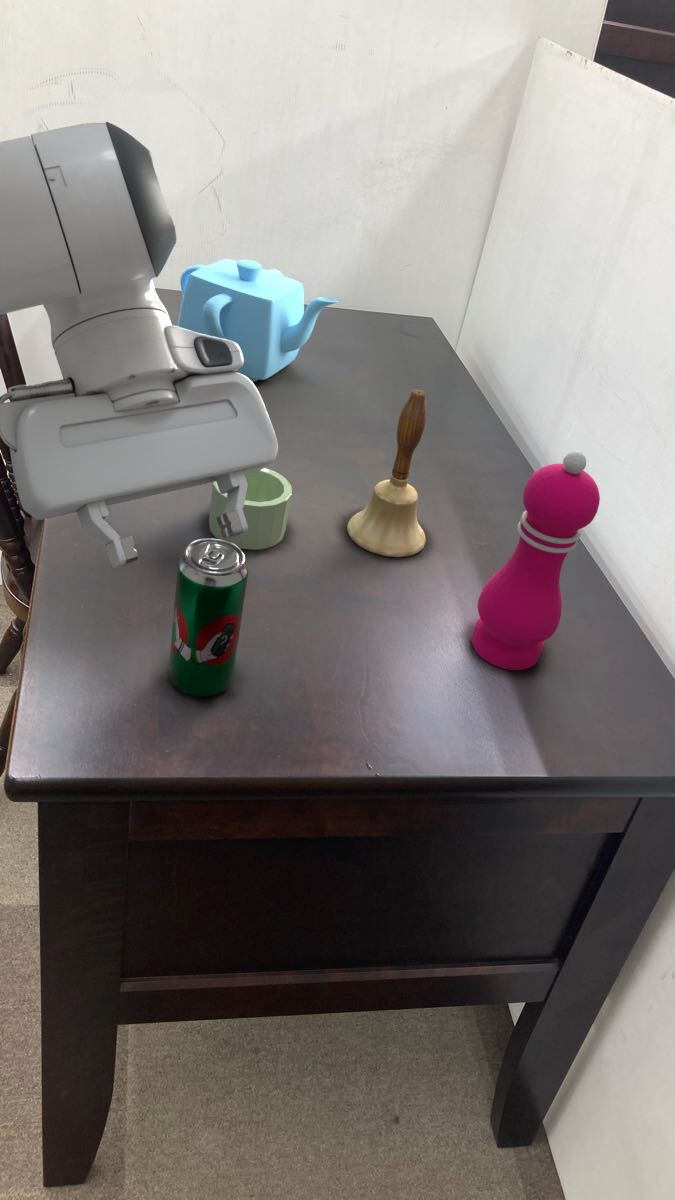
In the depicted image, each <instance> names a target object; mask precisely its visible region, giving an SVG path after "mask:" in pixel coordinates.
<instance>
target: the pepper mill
mask: <svg viewBox="0 0 675 1200" xmlns="http://www.w3.org/2000/svg"><path fill="white" fill-rule="evenodd" d="M586 466H587V459H586V456H585V455H584V453H582V452H580V451H577V450H575V451H570V452H567V454H566V455H565V456H564V457H563V459H562V463H551V464H547V465H544V466H541V467H540V468H538V469H537V470H535V471H534V472H533V473H532V475H531V476H530V477H529V478H528V479H527V481H526V484H525V486H524V489H523V491H522V503H523V506H524V509H525V510H524V511H523V513H522V514H521V516H520V521H519V522H518V524H517V532H518V534H519V539H518V543H517V544H516V547H515V550H514V551H513V553H512V554H511V556H510V558H509V559H508V560H507V561H506V562H505V563H504V564H503V565H502V566H501V567H500V568H499V569H498V570H497V571H496V572H495V573H494V574H493V575H492V576H491V577H490V578H489V579H488V581H487V583H486V584H485V585H484V587H483V588H482V590H481V593H480V595H479V597H478V600H477V613H478V616H479V618H478V619H477V621H476V623H475V626H474V629H473V631H472V634H471V643H472V647H473V649H474V651H475V652H476V654H478V655H479V656H480V657H481V659H483V660H484V661H486V662H487V663H489V664H491V665H493V666H495V667H498V668H500V669H505V670H510V671H522V670H527V669H530V668H532V667H533V666H534V665H535V664H536V663H537V662H538V660H539V658H540V655H541V653H542V651H543V649H544V645H545V642H546V641H547V640H548V639H550V638H551V637H552V636H553V635H554V634H555V633H556V631H557V630H558V627H559V625H560V620H561V617H562V608H563V607H562V603H563V601H562V592H561V588H560V579H561V571H562V568H563V564H564V561H565V559H566V557H567V555H568V553H569V552H572V551H573V550H575V549H576V548H577V546H578V540H579V539H580V538H581V535H582V529H583V528H586V527H587V526H589V525H590V524H591V523H592V521H594V519H595V517H596V515H597V514H598V510H599V506H600V501H601V496H600V490H599V486H598V485H597V482H596V481H595V480H594V479H593V477H592V476H591V475H590V474H589V473H587V472H586V471H585V469H586Z"/></svg>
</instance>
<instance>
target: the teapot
mask: <svg viewBox="0 0 675 1200" xmlns="http://www.w3.org/2000/svg"><path fill="white" fill-rule="evenodd" d="M262 267H263V266H262V264H260V262H259V263H258V262H257V261H254V260H250V259H241V260H237V261H236V260H233V259H229V258H223V259H221V260H218V261H215V262H212V263H209V264H208V265H204V264H203V265H202V264H193V265H190V266H189V267H187V268H186V269H185V270H183V272H182V274H181V276H180V280H179V281H180V289H181V294H182V299H181V303H180V307H179V308H180V309H179V316H178V322H177V326H178V327H181V328H184V329H187V330H190V331H193V332H197V333H201V334H205V335H209V336H213V337H218V338H222V339H227V340H231V341H233V342H235V343H237V344H238V345H239V347H240V349H241V351H242V354H243V359H244V363H243V365H242V367H241V368H240V369H239V370H238V371H237V373H241V374H243V375H245V376H246V377H248V378H249V379H250V380H251V381H252V382H253V383H255V382H257V381H258V380H263V381H264V380H268V379H269V378H270V377H272V376H273V375H275V374H277V373H278V372H279V371H281V370H283V369H284V368H285V367H286V366H288V365H289V364H291V363H292V362H293V361H294V360H295V359H296V358H297V356H298V354H299V351H300V348H301V347H303V346H304V345H305V344H306V343H307V342H308V340H309V338H310V337H311V335H312V332H313V330H314V328H315V324H316V322H317V319H318V317H319V315H320V313H321V312H322V311H323V309H325V308H326V307H328V306H330V305H333V304H337V303H339V300H338V299H334V298H330V297H324V296H323V297H322V296H321V297H316V298H314V299H312V300H311V301H310V302H309V303H308V304H307V306H306V307H305V294H304V293H305V291H304V284H303V283H302V282H300V281H299V280H296V279H293V278H290V277H287V276H285V275H283V273H282V271H280V270H278V269H269V270H267V269H264V268H262Z"/></svg>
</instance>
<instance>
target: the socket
mask: <svg viewBox="0 0 675 1200" xmlns="http://www.w3.org/2000/svg"><path fill="white" fill-rule="evenodd" d="M245 477H246V480H247V483H248V487H247V492H246V497H245V502H244V508H242V510H243V513H244V516H245V519H246V522H247V525H248V530H247V532H245V533H243V534H240V535H237V536H233V537H229V538H224V537H223V536H222V534H221V527H219V525H218V522H217V519H216V518H217V517H219V516H221V515H223V514H225V508H226V500H227V493H225V494H221V493H220V490H219V487H218V484H217V481H215V482H212V489H211V497H210V507H209V516H208V528H209V531H210V533H211V534H212V535H213V536H214V537H215V539H221V540H225V541H228V542H230V543H233V544H234V545H236V546H237V547H239V548H240V549H241V550H242V549H243V550H251V551H252V550H254V551H255V550H256V551H257V550H264V549H265V550H266V549H269V548H272V547H274V546H276V545H278V544H279V543H280V542H281V541H282V540H283V539H284V538H285V534H286V531H287V527H288V521H289V520H288V519H289V514H290V508H291V502H292V495H293V487H292V485H291V483H290V482H289V481H288V479H287V478H286V477H284V475H282V474H280V473H278V472H276V471H274V470H272V469H268V468H267V467H266V468H264V469H262V470H260V471H258V472H256V473H251V474H247V475H245Z"/></svg>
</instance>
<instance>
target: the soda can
mask: <svg viewBox="0 0 675 1200" xmlns="http://www.w3.org/2000/svg"><path fill="white" fill-rule="evenodd" d="M176 568H177V569H176V580H175V593H174V606H173V617H172V626H171V628H172V629H171V639H170V651H169V660H168V661H169V662H168V663H169V664H168V677H169V680H170V682H172V684H173V685H174V686H175V687H176V688H177V689H179V691H181V692H183V693H185V694H187V695H190V696H193V697H200V698H204V697H205V698H206V697H211V696H215V695H217V694H219V693H221V692H223V691H225V690H226V689H228V687H229V686H230V685H231V684H232V682H233V680H234V675H235V674H234V673H235V667H236V660H237V654H238V647H239V639H240V633H241V627H242V619H243V612H244V605H245V597H246V591H247V586H248V585H247V583H248V577H249V567H248V564H247V563H246V557H245V554H244V552H243V550H242V548H239V547H237V546H236V545H234V544H233V543H230V542H228V541H225V540H221V539H217V538H213V537H211V538H210V537H209V538H207V537H206V538H200V539H197V540H194V541H192V542H190V543H188V544H187V546H186V547H185V549H184V551H183V554H182V555H181V556H180V557H179V559H178V562H177V567H176Z"/></svg>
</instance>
